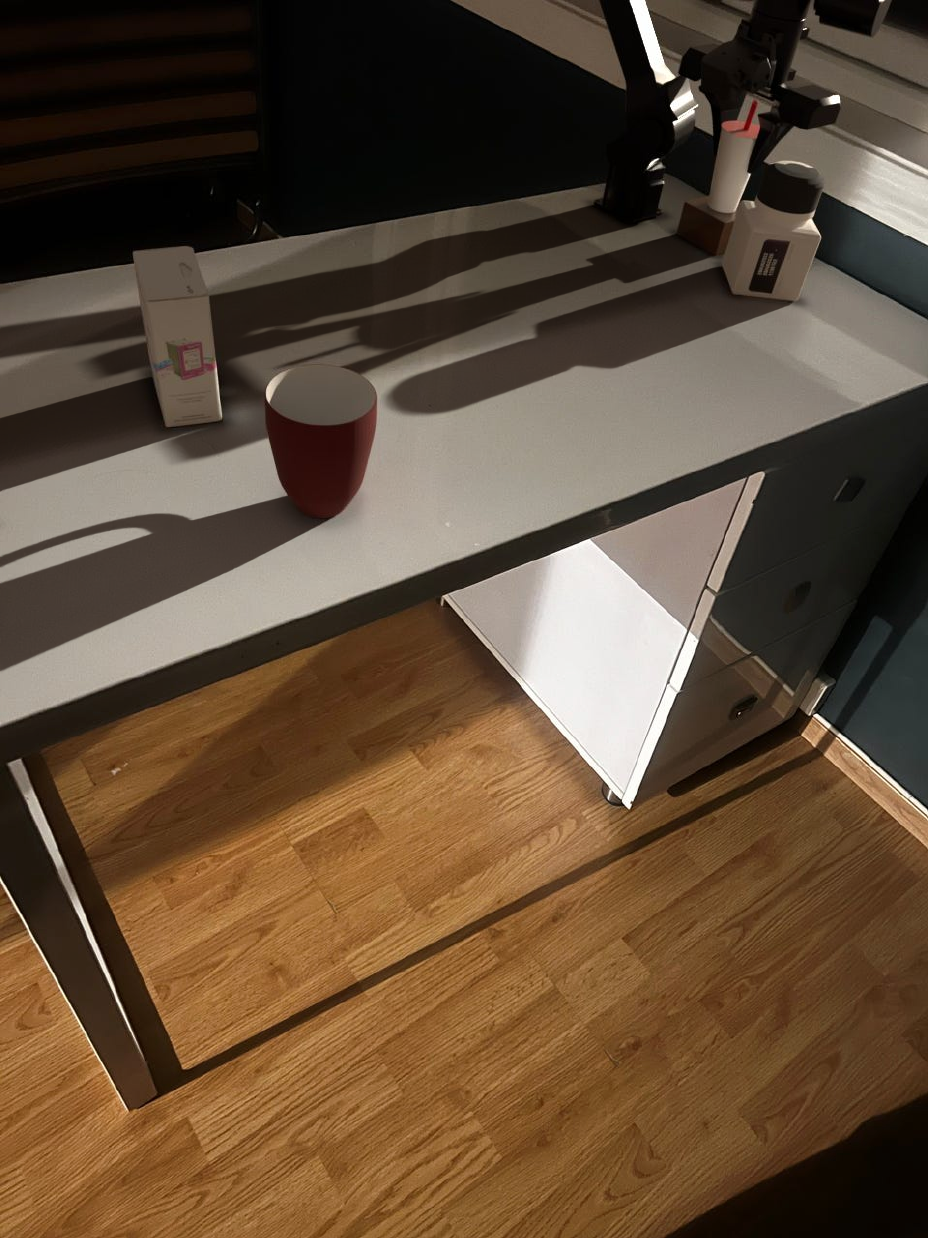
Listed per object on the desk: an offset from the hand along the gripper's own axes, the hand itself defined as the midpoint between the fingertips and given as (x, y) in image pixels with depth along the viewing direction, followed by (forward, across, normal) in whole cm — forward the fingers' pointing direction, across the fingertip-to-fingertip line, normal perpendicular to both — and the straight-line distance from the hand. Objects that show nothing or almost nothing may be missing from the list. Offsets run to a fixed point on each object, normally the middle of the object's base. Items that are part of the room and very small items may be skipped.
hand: (733, 164), depth 114 cm
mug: (+9, +17, -69) cm, 72 cm away
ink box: (+9, 0, -71) cm, 72 cm away
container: (+9, +11, -4) cm, 15 cm away
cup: (+5, 0, 0) cm, 5 cm away
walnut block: (+9, 0, 0) cm, 9 cm away
